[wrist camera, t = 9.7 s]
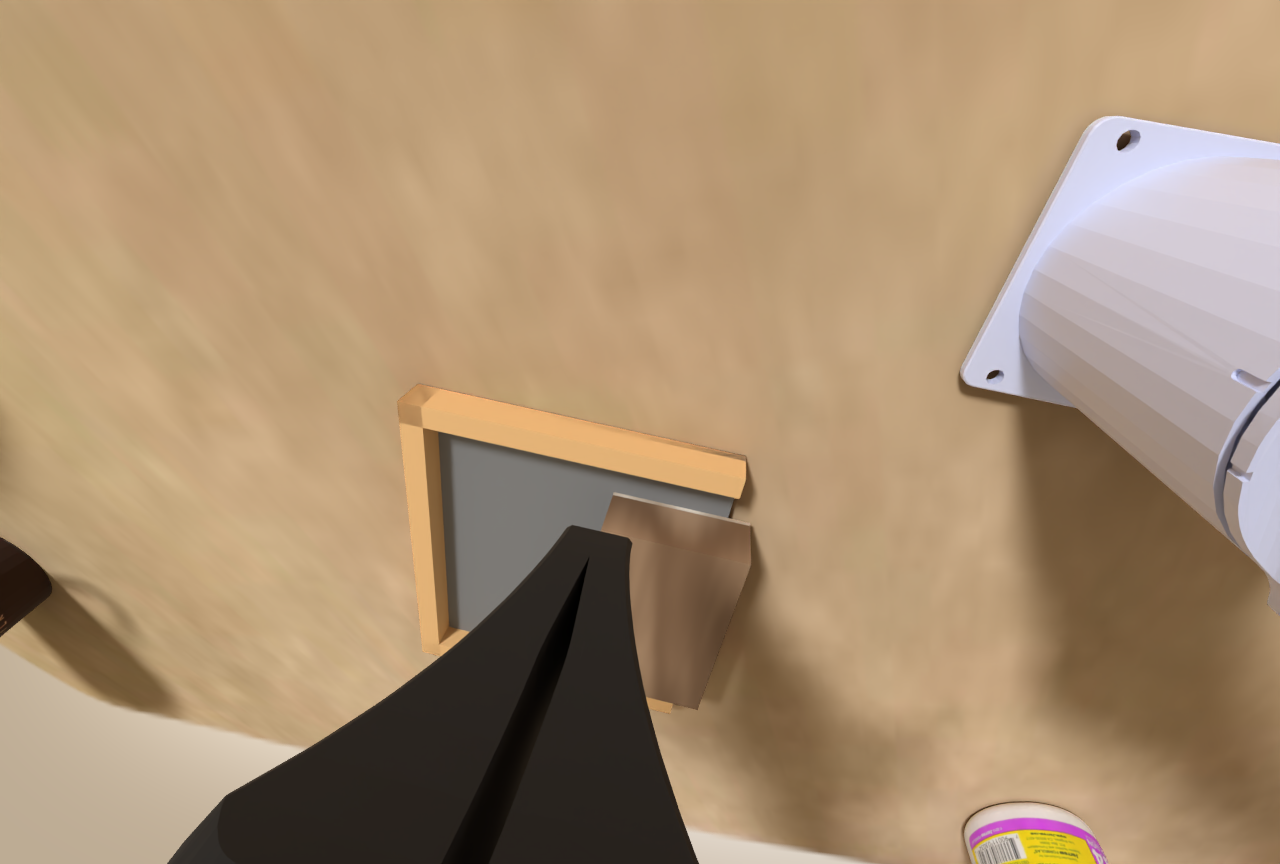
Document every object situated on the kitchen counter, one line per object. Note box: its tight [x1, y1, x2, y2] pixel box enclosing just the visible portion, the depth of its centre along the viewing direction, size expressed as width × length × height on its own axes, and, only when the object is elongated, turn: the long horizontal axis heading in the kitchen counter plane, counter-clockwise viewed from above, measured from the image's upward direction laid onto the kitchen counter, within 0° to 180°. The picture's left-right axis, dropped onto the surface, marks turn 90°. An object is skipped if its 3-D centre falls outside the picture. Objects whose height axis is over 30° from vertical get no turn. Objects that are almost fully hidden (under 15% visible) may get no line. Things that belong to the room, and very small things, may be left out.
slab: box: [601, 492, 751, 710], centre depth 24 cm, size 2×10×6 cm
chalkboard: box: [397, 384, 746, 714], centre depth 25 cm, size 14×16×2 cm
